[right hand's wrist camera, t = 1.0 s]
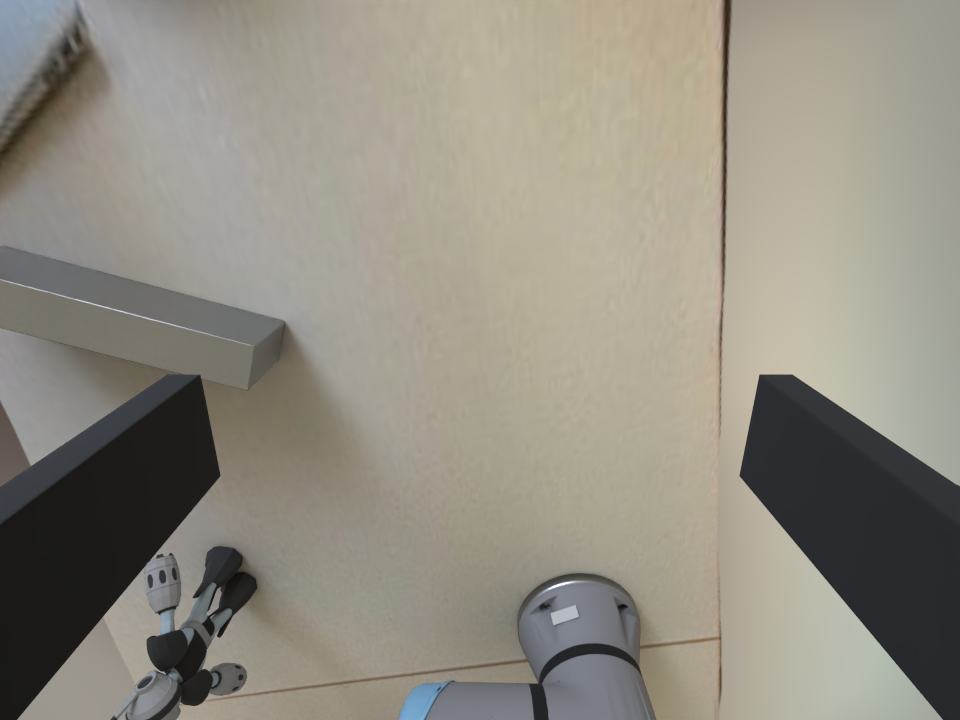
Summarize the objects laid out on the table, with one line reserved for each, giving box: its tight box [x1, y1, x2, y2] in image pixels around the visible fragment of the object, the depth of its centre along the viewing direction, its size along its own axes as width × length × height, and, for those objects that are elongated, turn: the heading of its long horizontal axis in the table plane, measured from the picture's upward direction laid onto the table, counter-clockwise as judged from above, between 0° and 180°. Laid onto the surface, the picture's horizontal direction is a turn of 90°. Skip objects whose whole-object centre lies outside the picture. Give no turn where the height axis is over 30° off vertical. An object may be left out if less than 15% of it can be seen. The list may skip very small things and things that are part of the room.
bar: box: [0, 246, 285, 390], centre depth 50 cm, size 28×4×8 cm, turn 74°
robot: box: [111, 546, 257, 720], centre depth 55 cm, size 20×5×20 cm, turn 17°
